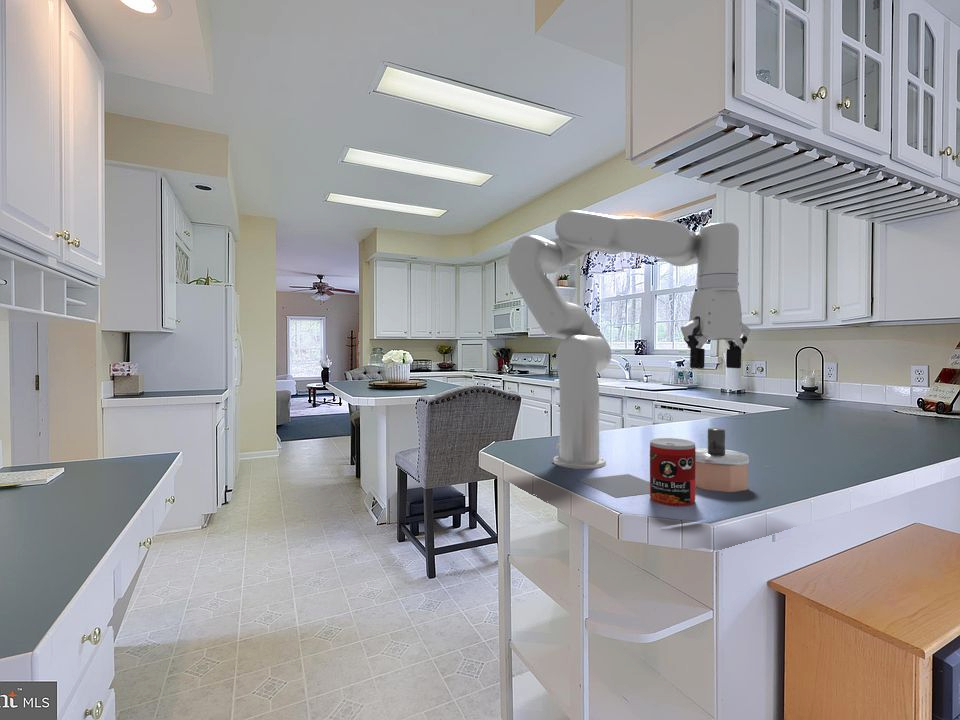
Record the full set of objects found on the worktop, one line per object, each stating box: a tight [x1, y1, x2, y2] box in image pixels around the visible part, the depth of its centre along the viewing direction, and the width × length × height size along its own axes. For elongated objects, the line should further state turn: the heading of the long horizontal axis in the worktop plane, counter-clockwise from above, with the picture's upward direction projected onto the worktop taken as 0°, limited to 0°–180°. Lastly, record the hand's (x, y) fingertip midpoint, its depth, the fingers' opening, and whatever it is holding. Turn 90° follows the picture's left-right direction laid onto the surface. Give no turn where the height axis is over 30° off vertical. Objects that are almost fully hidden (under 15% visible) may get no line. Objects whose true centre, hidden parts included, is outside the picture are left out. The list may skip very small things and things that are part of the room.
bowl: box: [695, 462, 749, 493], centre depth 95 cm, size 11×11×6 cm
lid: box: [695, 427, 750, 466], centre depth 95 cm, size 12×12×6 cm
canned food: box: [649, 437, 696, 507], centre depth 85 cm, size 8×8×11 cm
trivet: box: [577, 473, 650, 499], centre depth 94 cm, size 13×13×1 cm
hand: (715, 368), depth 96 cm, fingers open, 9 cm apart
